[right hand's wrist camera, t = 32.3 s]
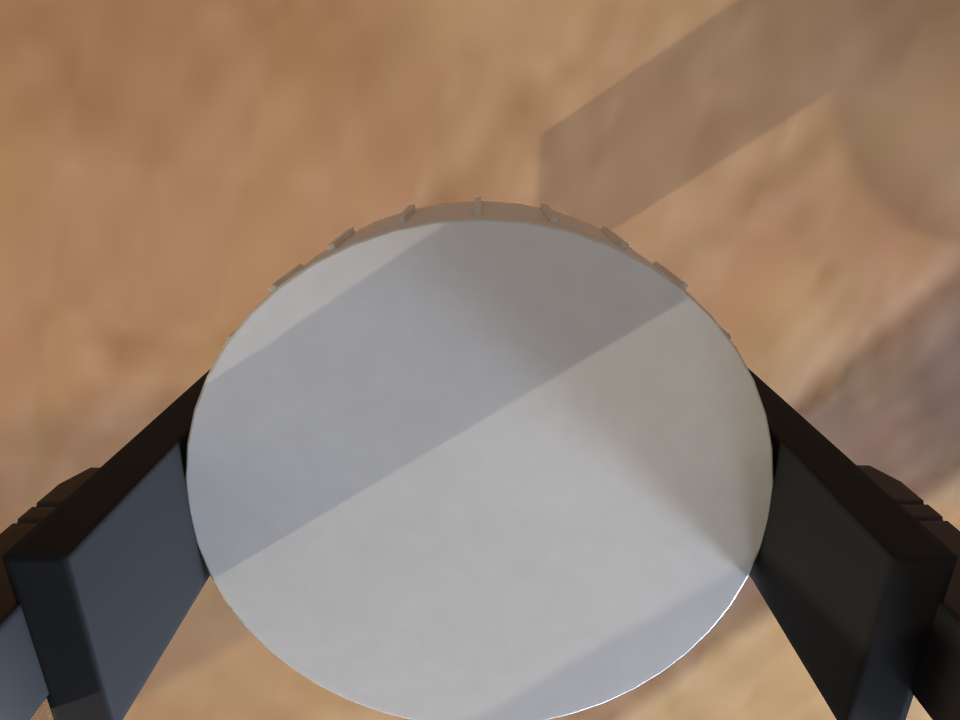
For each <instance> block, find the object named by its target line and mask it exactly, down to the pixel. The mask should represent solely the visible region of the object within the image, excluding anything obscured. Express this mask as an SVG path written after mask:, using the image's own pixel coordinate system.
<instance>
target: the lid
mask: <svg viewBox="0 0 960 720" xmlns="http://www.w3.org/2000/svg"><path fill="white" fill-rule="evenodd" d="M628 245H629V244H628V243H627V242H625V241H624V240H623V239H621V238H620V237H619V236H618V235H616V234H615V233H614V232H613V231H611V230H610V229H609V228H607V227H605V226H603V228H602V229H601V230H599V229H598V228H596V227H594V226H592V225H590V224H588V223H585V222H582V221H579V220H577V219H574V218H571V217H568V216H566V215H563V214H560V213H557V212H555V211H552V210H551V209H550V207H549V206H548V205H545V204H541V208H536V207H531V206H526V205H522V204H514V203H501V202H488V201H481V197H475V198H474V202H457V203H444V204H439V205H433V206H428V207H423V208H418V209H416V208H415V205H410V206H408V207H407V208H406V209H405V210H404V211H403V212H402V213H400V214H397V215H394V216H391V217H388V218H385V219H382V220H379V221H376V222H374V223H372V224H370V225H368V226H366V227H364V228H362V229H360V230H358V231H356V232H355V230H354V229H353V228H350V229H349V230H347V231H346V232H344V233H343V234H342V235H340V236H339V237H338V238H337V239H335V240H334V241H333V242H331V243H330V244H329V245H327V248H328V249H326V250H325V251H324V252H322V253H321V254H319V255H318V256H316V257H315V258H314V259H312V260H311V261H310V262H309V263H307V264H306V265H305V266H303V265H302V264H301V263H300V264H299V265H298V266H296V267H295V268H294V269H292V270H291V271H290V272H288V273H287V274H286V275H284V276H283V277H282V278H280V279H279V280H278V281H276V282H275V283H274V284H273V285H271V286H270V287H269V289H270V290H271V291H272V293H271V294H269V295H268V296H267V297H266V298H265V299H264V300H263V301H262V302H261V303H260V304H259V305H258V306H257V307H256V308H254V309H253V310H252V311H251V312H250V313H249V314H248V316H247V317H246V318H245V319H244V321H243V322H242V323H241V324H240V326H239V327H238V328H237V329H236V330H235V331H234V332H233V333H232V334H230V335H229V336H228V338H227V340H226V341H227V342H226V343H225V345H224V347H223V349H222V350H221V352H220V354H219V356H218V357H217V359H216V361H215V363H214V364H213V366H212V368H211V370H210V371H209V373H208V375H207V377H206V380H205V382H204V385H203V388H202V390H201V393H200V396H199V398H198V401H197V404H196V406H195V409H194V413H193V418H192V423H191V428H190V432H189V437H188V442H187V457H186V477H185V479H186V488H187V494H188V500H189V505H190V511H191V516H192V521H193V526H194V531H195V536H196V541H197V544H198V547H199V549H200V552H201V554H202V556H203V559H204V561H205V564H206V566H207V568H208V571H209V573H210V575H211V577H212V578H213V580H214V582H215V583H216V585H217V587H218V589H219V590H220V592H221V594H222V595H223V597H224V599H225V600H226V602H227V603H228V604H229V606H230V607H231V608H232V610H233V611H234V612H235V613H236V615H237V616H238V617H239V619H240V620H241V621H242V622H243V624H244V625H245V626H246V627H247V628H248V629H249V630H250V631H251V632H252V633H253V634H254V635H255V636H256V637H257V638H258V639H259V640H260V641H261V642H262V643H263V644H264V645H265V646H266V647H267V648H268V649H269V650H270V651H271V652H272V653H274V654H275V655H276V656H277V657H279V658H280V659H281V660H283V661H284V662H285V663H286V664H288V665H289V666H290V667H291V668H293V669H294V670H296V671H297V672H299V673H300V674H302V675H304V676H305V677H307V678H308V679H310V680H312V681H313V682H315V683H316V684H318V685H320V686H321V687H323V688H325V689H327V690H329V691H331V692H334V693H336V694H338V695H340V696H342V697H344V698H346V699H348V700H350V701H353V702H355V703H358V704H361V705H364V706H366V707H369V708H372V709H375V710H377V711H380V712H384V713H388V714H392V715H396V716H400V717H403V718H407V719H411V720H547V719H552V718H556V717H560V716H564V715H568V714H572V713H576V712H579V711H582V710H584V709H587V708H590V707H593V706H596V705H599V704H602V703H605V702H607V701H609V700H611V699H613V698H615V697H617V696H620V695H622V694H624V693H626V692H628V691H630V690H632V689H635V688H636V687H638V686H639V685H641V684H643V683H644V682H646V681H648V680H649V679H651V678H653V677H654V676H656V675H658V674H659V673H661V672H663V671H664V670H665V669H666V668H668V667H669V666H670V665H672V664H673V663H674V662H676V661H677V660H678V659H679V658H681V657H682V656H683V655H685V654H686V653H687V652H688V651H689V650H690V649H691V648H693V647H694V646H695V645H696V644H697V643H698V642H699V641H700V640H701V639H702V638H703V637H704V636H705V635H706V634H707V633H708V632H709V631H710V630H711V629H712V628H713V626H714V625H715V624H716V623H717V621H718V620H719V619H720V618H721V616H722V615H723V614H724V613H725V611H726V610H727V609H728V608H729V606H730V605H731V604H732V602H733V600H734V599H735V597H736V596H737V594H738V592H739V591H740V589H741V587H742V586H743V584H744V582H745V581H746V579H747V578H748V575H749V573H750V571H751V569H752V566H753V564H754V562H755V559H756V557H757V555H758V553H759V550H760V548H761V545H762V541H763V538H764V534H765V529H766V524H767V520H768V514H769V509H770V503H771V497H772V491H773V483H774V482H773V449H772V443H771V438H770V432H769V427H768V422H767V416H766V412H765V410H764V407H763V404H762V401H761V398H760V396H759V393H758V390H757V387H756V384H755V382H754V379H753V377H752V376H751V374H750V372H749V370H748V368H747V366H746V365H745V363H744V361H743V359H742V357H741V355H740V353H739V352H738V350H737V348H736V347H735V345H734V344H733V343H732V341H731V340H730V338H731V336H730V335H729V333H728V332H726V331H725V330H724V329H723V328H722V327H720V326H719V324H718V323H717V322H716V320H715V319H714V318H713V317H712V316H711V315H710V314H709V313H708V312H707V311H706V310H705V309H704V308H703V307H702V306H701V305H700V304H699V303H698V302H697V301H696V300H695V299H694V298H693V297H692V296H691V295H690V294H689V293H688V292H687V291H686V290H685V288H686V287H687V286H688V285H687V284H685V283H684V282H683V281H682V280H681V279H679V278H678V277H677V276H675V275H674V274H673V273H671V272H670V271H669V270H667V269H666V268H665V267H663V266H662V265H661V264H659V263H658V262H657V261H656V262H655V263H654V264H652V263H650V262H649V261H648V260H647V259H645V258H644V257H642V256H641V255H640V254H638V253H637V252H635V251H634V250H633V249H631V248H630V247H629V246H628Z"/></svg>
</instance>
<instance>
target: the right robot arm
mask: <svg viewBox="0 0 960 720" xmlns="http://www.w3.org/2000/svg"><path fill="white" fill-rule="evenodd" d="M210 370H211V369H210ZM210 370H209V371H210ZM748 370H749V369H748ZM209 371H208V372H207V373H206V374H205V375H203V376H202V377H201V378H200V379H199V380H198V381H197V382H196V383H195V384H193V385H192V386H191V387H190V388H189V389H188V390H187V391H186V392H185V393H183V394H182V395H181V396H180V397H179V398H178V399H177V400H176V401H174V402H173V403H172V404H171V405H170V406H169V407H168V408H167V409H166V410H164V411H163V412H162V413H161V414H160V415H159V416H158V417H157V418H156V419H154V420H153V421H152V422H151V423H150V424H149V425H148V426H147V427H145V428H144V429H143V430H142V431H141V432H140V433H139V434H138V435H137V436H135V437H134V438H133V439H132V440H131V441H130V442H129V443H128V444H127V445H125V446H124V447H123V448H122V449H121V450H120V451H119V452H118V453H116V454H115V455H114V456H113V457H112V458H111V459H110V460H109V461H108V462H106V463H105V464H104V465H103V466H102V467H101V468H89V469H88V470H86V471H84V472H82V473H80V474H78V475H76V476H74V477H72V478H70V479H68V480H66V481H64V482H62V483H61V484H59V485H58V486H57V487H55V488H54V489H53V490H52V491H51V492H49V493H48V494H47V495H46V496H45V497H44V498H42V499H41V500H40V501H39V502H38V503H37V506H36V507H32V508H31V509H29V510H28V511H27V512H26V513H25V514H23V515H22V516H21V517H20V518H19V519H18V522H17V524H12V525H10V526H9V527H8V528H7V529H6V530H5V531H3V532H2V533H1V534H0V720H30V718H31V717H32V716H33V714H34V713H35V712H36V710H37V709H38V708H39V707H40V705H41V704H42V703H43V701H44V700H45V699H46V697H47V700H48V703H49V706H50V709H51V712H52V715H53V718H54V720H123V718H124V717H125V715H126V713H127V712H128V710H129V708H130V707H131V705H132V703H133V702H134V700H135V698H136V697H137V695H138V693H139V692H140V690H141V689H142V687H143V685H144V684H145V682H146V680H147V679H148V677H149V675H150V674H151V672H152V670H153V669H154V667H155V665H156V664H157V662H158V660H159V659H160V657H161V655H162V654H163V652H164V650H165V649H166V647H167V645H168V644H169V642H170V640H171V639H172V637H173V635H174V634H175V632H176V630H177V629H178V627H179V626H180V624H181V622H182V621H183V619H184V617H185V616H186V614H187V612H188V611H189V609H190V607H191V606H192V604H193V602H194V601H195V599H196V597H197V596H198V594H199V592H200V591H201V589H202V587H203V586H204V584H205V582H206V581H207V579H208V577H209V576H210V573H209V571H208V568H207V566H206V564H205V561H204V559H203V556H202V554H201V552H200V549H199V547H198V544H197V541H196V536H195V531H194V526H193V521H192V516H191V511H190V505H189V500H188V494H187V488H186V479H185V477H186V457H187V442H188V437H189V432H190V428H191V423H192V418H193V413H194V409H195V406H196V404H197V401H198V398H199V396H200V393H201V390H202V388H203V385H204V382H205V380H206V377H207V375H208V373H209ZM749 372H750V374H751V376H752V377H753V379H754V382H755V384H756V387H757V390H758V393H759V396H760V398H761V401H762V404H763V407H764V410H765V412H766V416H767V422H768V427H769V432H770V438H771V443H772V449H773V482H774V483H773V491H772V497H771V503H770V509H769V514H768V520H767V524H766V529H765V534H764V538H763V541H762V545H761V548H760V550H759V553H758V555H757V557H756V559H755V562H754V564H753V566H752V569H751V571H750V573H749V575H750V576H751V578H752V580H753V581H754V583H755V585H756V586H757V588H758V590H759V591H760V593H761V595H762V596H763V598H764V600H765V601H766V603H767V605H768V606H769V608H770V610H771V611H772V613H773V615H774V616H775V618H776V620H777V621H778V623H779V624H780V626H781V628H782V629H783V631H784V633H785V634H786V636H787V638H788V639H789V641H790V643H791V644H792V646H793V648H794V649H795V651H796V653H797V654H798V656H799V658H800V659H801V661H802V663H803V664H804V666H805V668H806V669H807V671H808V673H809V674H810V676H811V678H812V679H813V681H814V683H815V684H816V686H817V688H818V689H819V691H820V692H821V694H822V696H823V697H824V699H825V701H826V702H827V704H828V706H829V707H830V709H831V711H832V712H833V714H834V716H835V717H836V719H837V720H906V717H907V714H908V710H909V707H910V704H911V701H912V698H913V695H914V696H915V697H916V698H917V700H918V701H919V702H920V704H921V705H922V706H923V708H924V709H925V710H926V711H927V713H928V714H929V715H930V717H931V718H932V719H933V720H960V531H959V530H957V529H956V528H955V527H954V526H953V525H952V524H950V523H949V522H948V521H943V519H942V516H941V515H940V514H938V513H937V512H936V511H935V510H934V509H932V508H931V507H930V506H929V505H924V503H923V500H922V499H921V498H919V497H918V496H917V495H916V494H915V493H913V492H912V491H911V490H910V489H909V488H908V487H906V486H905V485H904V484H903V483H902V482H900V481H898V480H896V479H894V478H892V477H890V476H888V475H887V474H885V473H883V472H881V471H879V470H877V469H875V468H873V467H871V466H856V465H855V464H854V463H853V462H852V461H851V460H850V459H849V458H848V457H846V456H845V455H844V454H843V453H842V452H841V451H840V450H839V449H838V448H836V447H835V446H834V445H833V444H832V443H831V442H830V441H829V440H827V439H826V438H825V437H824V436H823V435H822V434H821V433H820V432H819V431H817V430H816V429H815V428H814V427H813V426H812V425H811V424H810V423H809V422H807V421H806V420H805V419H804V418H803V417H802V416H801V415H800V414H798V413H797V412H796V411H795V410H794V409H793V408H792V407H791V406H790V405H788V404H787V403H786V402H785V401H784V400H783V399H782V398H781V397H780V396H778V395H777V394H776V393H775V392H774V391H773V390H772V389H771V388H769V387H768V386H767V385H766V384H765V383H764V382H763V381H762V380H761V379H759V378H758V377H757V376H756V375H755V374H754V373H753V372H752V371H751V370H749Z"/></svg>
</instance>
